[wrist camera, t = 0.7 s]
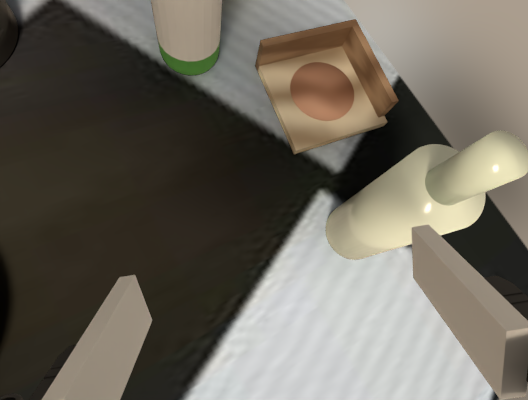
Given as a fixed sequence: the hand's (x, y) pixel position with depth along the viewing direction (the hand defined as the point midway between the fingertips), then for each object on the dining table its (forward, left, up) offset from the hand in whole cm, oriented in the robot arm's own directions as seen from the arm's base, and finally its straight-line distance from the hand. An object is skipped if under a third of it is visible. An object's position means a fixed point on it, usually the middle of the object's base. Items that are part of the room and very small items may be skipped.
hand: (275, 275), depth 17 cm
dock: (-21, +20, -25) cm, 38 cm away
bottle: (-2, +16, -25) cm, 30 cm away
